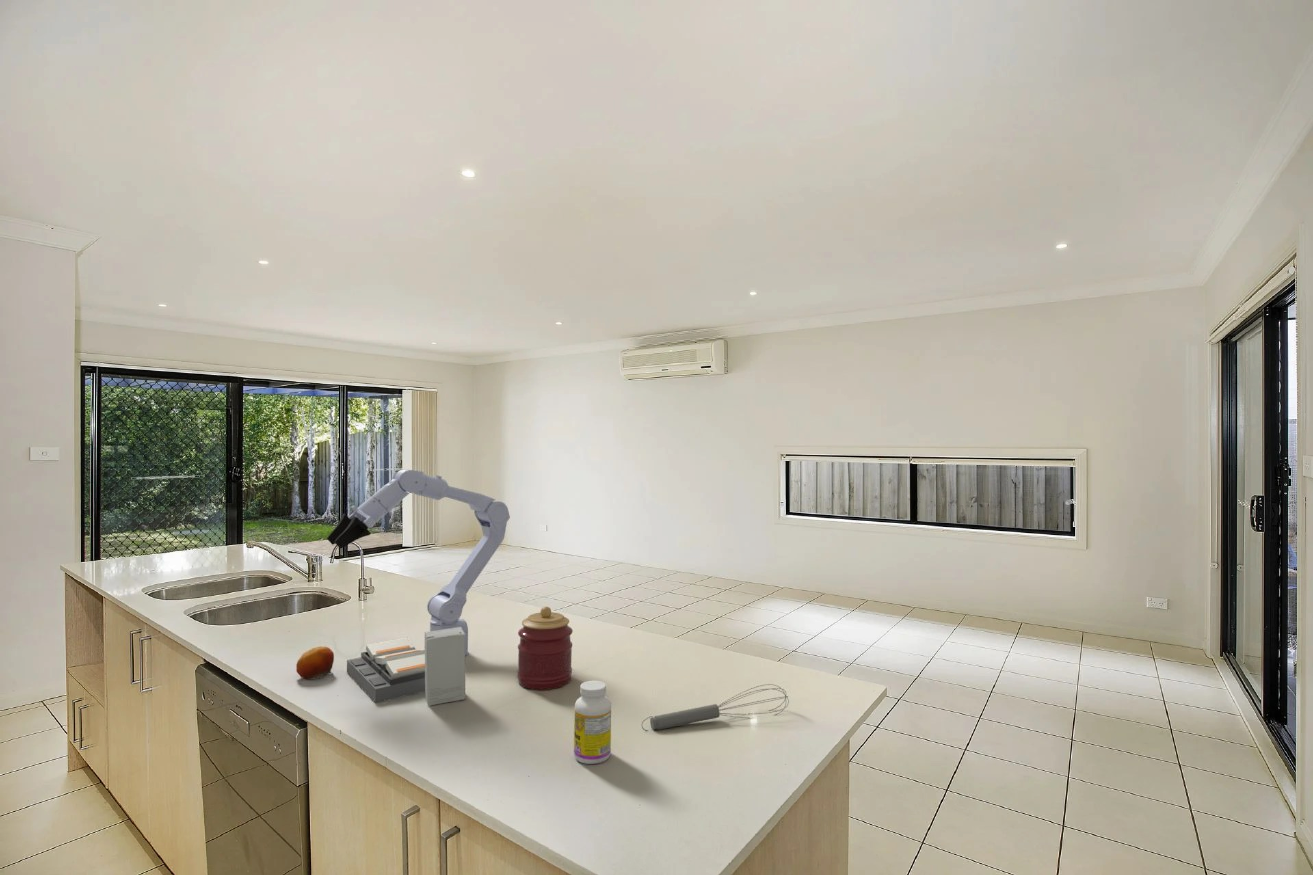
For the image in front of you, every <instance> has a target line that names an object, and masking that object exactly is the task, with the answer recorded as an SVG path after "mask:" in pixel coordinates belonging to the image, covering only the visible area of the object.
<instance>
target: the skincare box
mask: <svg viewBox="0 0 1313 875" xmlns="http://www.w3.org/2000/svg"><path fill="white" fill-rule="evenodd" d="M424 650H425V691H424V697H425V701H426V704H427V706H428V707H431V706H434V705H440V704H445V703H450V702H451V703H452V702H457V701H463V700H466V655H465V633H464V631H463V630H462V628H461V627H457V628H451V629H444V630H437V631H430V630H429V631H425V632H424Z"/></svg>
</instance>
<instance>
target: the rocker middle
mask: <svg viewBox="0 0 1313 875" xmlns="http://www.w3.org/2000/svg"><path fill="white" fill-rule="evenodd" d="M422 654H425V649H421V648H420V649H419V648H415V650H410V651H405V652H400V653H394V654H389V655H384V656H379V657H375V663H377V664H382V665H383V664H386V662H387V661H392V660H397V659H402V658H407V657H412V656H417V655H422Z"/></svg>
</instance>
